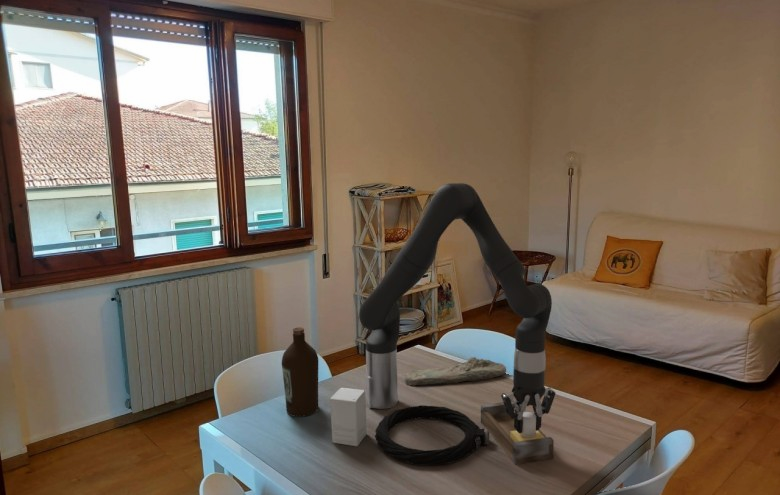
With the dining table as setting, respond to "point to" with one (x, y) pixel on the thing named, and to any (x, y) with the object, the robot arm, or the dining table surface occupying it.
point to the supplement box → (348, 416)
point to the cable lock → (430, 457)
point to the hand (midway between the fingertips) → (527, 430)
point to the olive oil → (300, 376)
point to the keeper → (527, 429)
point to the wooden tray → (500, 429)
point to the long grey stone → (457, 373)
